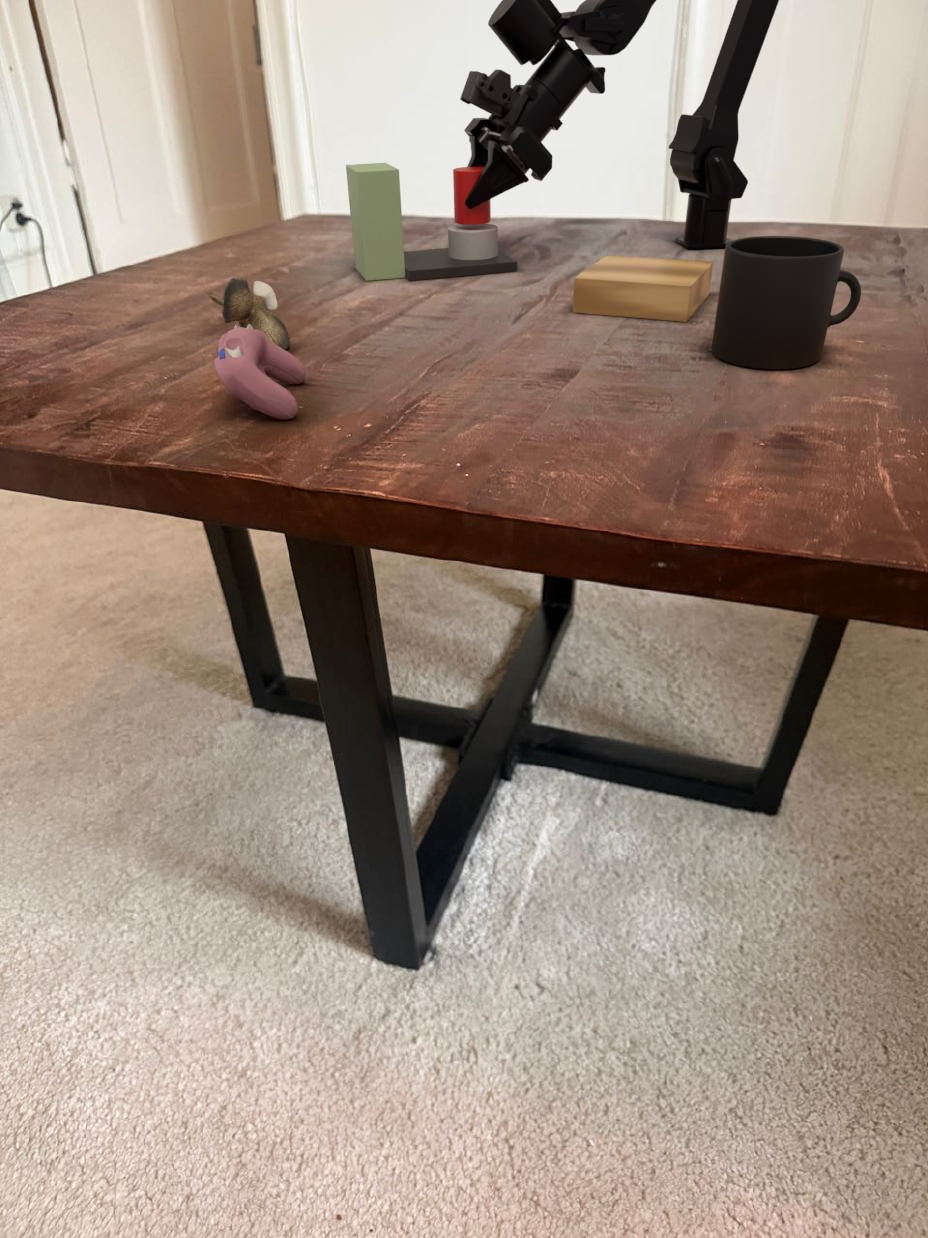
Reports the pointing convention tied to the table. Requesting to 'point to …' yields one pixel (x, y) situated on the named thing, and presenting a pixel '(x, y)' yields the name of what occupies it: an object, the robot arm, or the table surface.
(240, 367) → the video game controller
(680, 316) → the block
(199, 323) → the table surface
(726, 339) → the mug
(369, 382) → the table surface
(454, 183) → the cylinder
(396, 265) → the coffee maker
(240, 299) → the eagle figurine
